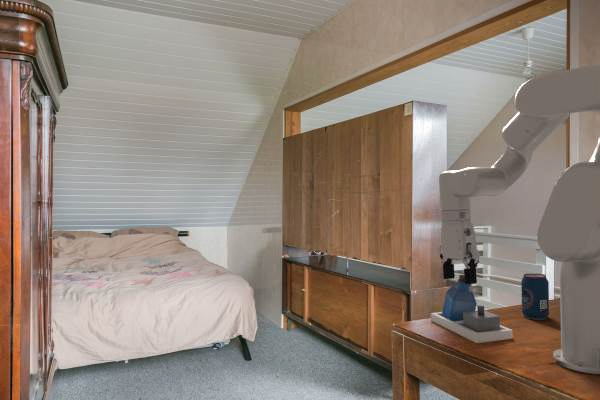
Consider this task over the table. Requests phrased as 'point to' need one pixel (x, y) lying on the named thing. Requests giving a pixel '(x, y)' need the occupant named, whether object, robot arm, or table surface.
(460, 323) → the socket strip
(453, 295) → the perfume bottle
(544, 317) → the soda can
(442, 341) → the table surface
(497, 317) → the charcoal plug block
